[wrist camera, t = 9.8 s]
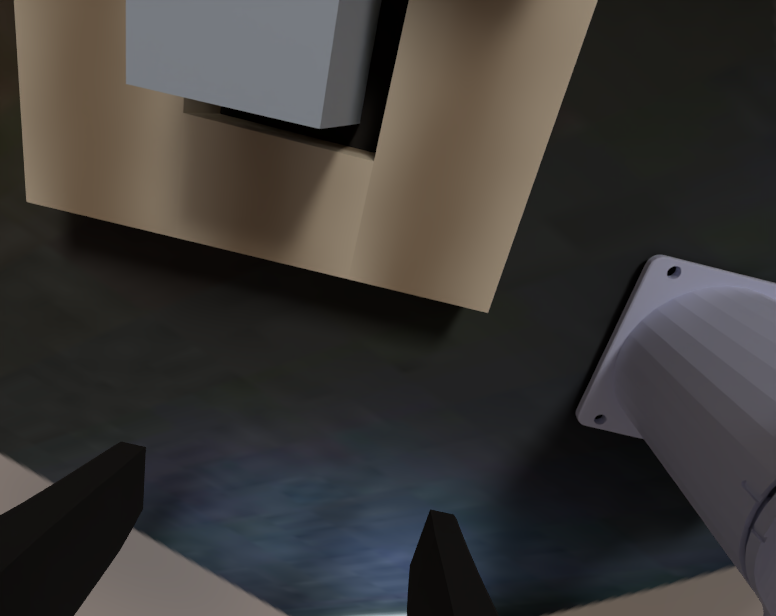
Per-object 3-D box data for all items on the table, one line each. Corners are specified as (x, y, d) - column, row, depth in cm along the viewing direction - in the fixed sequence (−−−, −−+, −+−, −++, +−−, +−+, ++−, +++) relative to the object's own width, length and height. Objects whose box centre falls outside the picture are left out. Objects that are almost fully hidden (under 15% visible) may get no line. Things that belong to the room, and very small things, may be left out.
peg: (382, -4, 15) (355, -113, 8) (359, 123, 17) (319, 129, 10) (263, -32, 15) (125, -171, 8) (251, 98, 17) (125, 83, 9)
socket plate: (620, -150, 14) (673, -217, 11) (476, 284, 19) (487, 312, 16) (77, -309, 13) (-13, -423, 10) (84, 188, 18) (26, 201, 16)
